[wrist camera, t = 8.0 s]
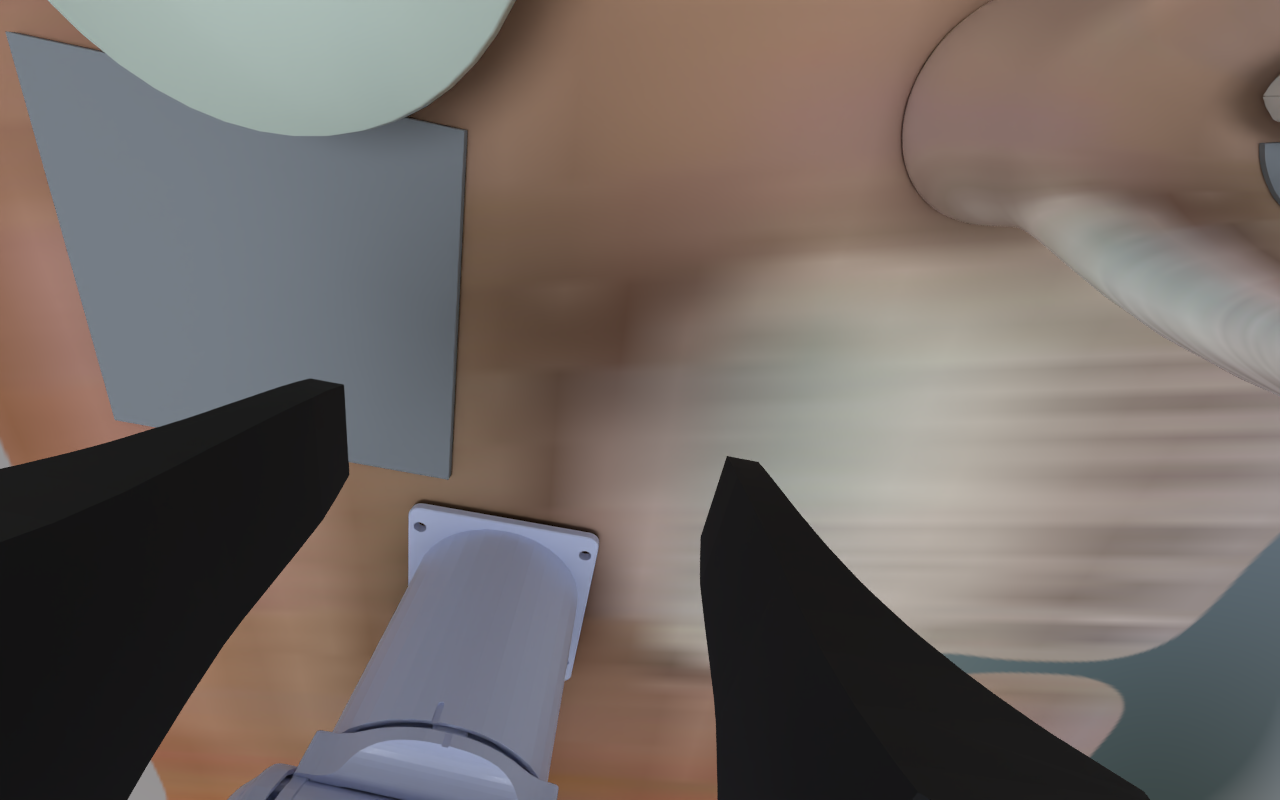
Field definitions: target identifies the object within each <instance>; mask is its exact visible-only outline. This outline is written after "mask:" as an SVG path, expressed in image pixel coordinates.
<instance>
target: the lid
mask: <svg viewBox="0 0 1280 800" xmlns="http://www.w3.org/2000/svg"><path fill="white" fill-rule="evenodd" d="M48 1H49V2H50V3H51V4H52V5H53V6H54V7H55V8H56V9H57V10H58V11H59V12H60V13H61V14H62V15H63V16H64V17H65V18H66V19H67V20H68V21H69V22H70V23H71V24H72V25H73V26H75V27H76V28H77V29H78V30H79V31H80V32H81V33H82V34H83V35H84V36H85V37H86V38H88V39H89V40H90V41H91V42H92V43H94V44H95V45H96V46H97V47H99V48H100V49H101V50H102V51H103V52H105V53H106V54H107V55H108V56H109V57H111V58H112V59H113V60H114V61H116V62H117V63H118V64H119V65H121V66H122V67H124V68H125V69H127V70H128V71H130V72H131V73H133V74H134V75H136V76H137V77H139V78H140V79H142V80H143V81H145V82H146V83H147V84H149V85H150V86H152V87H153V88H155V89H157V90H159V91H161V92H162V93H164V94H166V95H168V96H170V97H172V98H173V99H175V100H177V101H179V102H181V103H183V104H185V105H186V106H188V107H190V108H193V109H195V110H198V111H200V112H202V113H205V114H207V115H210V116H212V117H215V118H217V119H220V120H222V121H224V122H228V123H231V124H235V125H239V126H242V127H246V128H249V129H253V130H257V131H261V132H268V133H275V134H282V135H289V136H331V135H340V134H346V133H353V132H359V131H366V130H371V129H374V128H377V127H380V126H383V125H387V124H390V123H393V122H396V121H399V120H401V119H403V118H405V117H407V116H409V115H411V114H413V113H415V112H417V111H419V110H421V109H422V108H424V107H426V106H428V105H429V104H431V103H432V102H433V101H435V100H436V99H437V98H439V97H440V96H442V95H443V94H444V93H446V92H447V91H448V90H450V89H451V88H452V87H454V85H455V84H456V83H457V82H458V81H459V80H460V79H461V78H462V77H463V76H464V75H465V74H466V73H467V72H468V71H469V70H470V69H471V68H472V67H473V66H474V65H475V64H476V63H477V62H478V60H479V59H480V58H481V56H482V55H483V54H484V52H485V51H486V50H487V48H488V47H489V45H490V44H491V43H492V41H493V40H494V39H495V37H496V36H497V34H498V33H499V31H500V29H501V27H502V25H503V23H504V22H505V20H506V18H507V16H508V14H509V12H510V10H511V9H512V7H513V5H514V3H515V1H516V0H48Z"/></svg>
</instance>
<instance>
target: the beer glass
mask: <svg viewBox="0 0 1280 800" xmlns="http://www.w3.org/2000/svg"><path fill="white" fill-rule="evenodd" d="M902 149H903V157H904V162H905V166H906V169H907V172H908V175H909V177H910V179H911V181H912V183H913V185H914V187H915V189H916V190H917V192H918V193H919V194H920V196H921V197H922V198H923V199H924V200H925V201H926V202H927V203H928V204H929V205H930V206H931V207H932V208H933V209H935V210H936V211H938V212H939V213H941V214H943V215H944V216H946V217H949V218H951V219H954V220H957V221H960V222H963V223H967V224H973V225H981V226H998V227H1016V228H1019V229H1021V230H1023V231H1025V232H1027V233H1028V234H1030V235H1031V236H1032V237H1034V238H1035V239H1036V240H1038V241H1039V242H1040V243H1041V244H1043V245H1044V246H1045V247H1046V248H1047V249H1048V250H1049V251H1051V252H1052V253H1053V254H1054V255H1055V256H1056V257H1058V258H1059V259H1060V260H1061V261H1062V262H1063V263H1065V264H1066V265H1067V266H1068V267H1069V268H1071V269H1072V270H1073V271H1074V272H1075V273H1077V274H1078V275H1079V276H1080V277H1081V278H1083V279H1084V280H1085V281H1086V282H1088V283H1089V284H1090V285H1091V286H1092V287H1094V288H1095V289H1096V290H1097V291H1098V292H1100V293H1101V294H1102V295H1103V296H1105V297H1106V298H1107V299H1109V300H1110V301H1112V302H1113V303H1114V304H1116V305H1117V306H1119V307H1120V308H1122V309H1123V310H1124V311H1126V312H1127V313H1129V314H1130V315H1132V316H1133V317H1134V318H1136V319H1137V320H1139V321H1140V322H1142V323H1143V324H1144V325H1146V326H1147V327H1149V328H1150V329H1152V330H1153V331H1154V332H1156V333H1157V334H1159V335H1160V336H1162V337H1164V338H1165V339H1167V340H1169V341H1171V342H1173V343H1175V344H1176V345H1178V346H1180V347H1182V348H1184V349H1186V350H1188V351H1190V352H1191V353H1193V354H1195V355H1197V356H1199V357H1201V358H1203V359H1204V360H1206V361H1208V362H1210V363H1212V364H1214V365H1216V366H1217V367H1219V368H1221V369H1223V370H1225V371H1227V372H1229V373H1230V374H1232V375H1234V376H1236V377H1238V378H1240V379H1242V380H1244V381H1246V382H1249V383H1251V384H1253V385H1255V386H1257V387H1260V388H1262V389H1264V390H1266V391H1269V392H1271V393H1273V394H1275V395H1277V396H1280V0H992V1H990V2H988V3H987V4H985V5H983V6H982V7H980V8H979V9H977V10H976V11H974V12H973V13H972V14H970V15H969V16H968V17H966V18H965V19H964V20H963V21H961V22H960V23H959V24H958V25H957V26H956V27H955V28H954V29H953V30H952V31H951V32H950V33H949V34H948V35H947V36H946V37H945V38H944V39H943V40H942V41H941V42H940V44H939V45H938V46H937V47H936V49H935V50H934V51H933V53H932V54H931V55H930V57H929V58H928V60H927V61H926V63H925V64H924V66H923V68H922V70H921V71H920V73H919V75H918V77H917V79H916V81H915V83H914V86H913V88H912V91H911V93H910V96H909V99H908V102H907V106H906V110H905V115H904V120H903V128H902Z"/></svg>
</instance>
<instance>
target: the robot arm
mask: <svg viewBox="0 0 1280 800" xmlns="http://www.w3.org/2000/svg"><path fill="white" fill-rule="evenodd" d="M348 476H349V461H348V444H347V426H346V409H345V391H344V385H343V384H338V383H333V382H327V381H322V380H317V379H311V378H310V379H306V380H301V381H297V382H294V383H290V384H287V385H284V386H281V387H278V388H275V389H271V390H268V391H265V392H262V393H260V394H257V395H254V396H251V397H248V398H245V399H242V400H239V401H236V402H233V403H230V404H227V405H224V406H222V407H219V408H216V409H213V410H210V411H207V412H204V413H201V414H198V415H195V416H192V417H189V418H186V419H183V420H180V421H176V422H173V423H170V424H167V425H163V426H160V427H157V428H154V429H151V430H147V431H144V432H141V433H138V434H134V435H131V436H128V437H125V438H121V439H118V440H115V441H111V442H108V443H104V444H101V445H97V446H93V447H89V448H86V449H82V450H78V451H74V452H70V453H66V454H62V455H58V456H54V457H50V458H46V459H41V460H37V461H33V462H29V463H25V464H21V465H16V466H11V467H7V468H3V469H0V800H127V799H128V798H129V796H130V794H131V792H132V790H133V789H134V787H135V786H136V784H137V782H138V780H139V779H140V777H141V775H142V773H143V772H144V770H145V768H146V767H147V765H148V763H149V762H150V760H151V758H152V757H153V755H154V754H155V752H156V750H157V749H158V747H159V745H160V744H161V742H162V741H163V739H164V737H165V736H166V734H167V733H168V731H169V729H170V728H171V726H172V724H173V723H174V721H175V720H176V718H177V716H178V715H179V713H180V712H181V710H182V708H183V707H184V705H185V703H186V702H187V700H188V699H189V697H190V696H191V694H192V693H193V691H194V690H195V688H196V687H197V685H198V683H199V682H200V680H201V679H202V677H203V676H204V674H205V673H206V671H207V670H208V668H209V667H210V665H211V664H212V662H213V661H214V659H215V658H216V656H217V654H218V653H219V651H220V650H221V648H222V647H223V645H224V644H225V643H226V641H227V640H228V639H229V637H230V636H231V635H232V633H233V632H234V631H235V629H236V628H237V627H238V625H239V624H240V623H241V621H242V620H243V619H244V617H245V616H246V615H247V614H248V612H249V611H250V610H251V609H252V608H253V606H254V605H255V604H256V603H257V601H258V600H259V599H260V598H261V596H262V595H263V594H264V593H265V591H266V590H267V589H268V588H269V587H270V585H271V584H272V583H273V582H274V580H275V579H276V578H277V577H278V575H279V574H280V573H281V572H282V570H283V569H284V568H285V567H286V565H287V564H288V563H289V562H290V561H291V559H292V558H293V557H294V556H295V554H296V553H297V552H298V551H299V549H300V548H301V547H302V546H303V544H304V543H305V542H306V540H307V539H308V538H309V537H310V535H311V534H312V533H313V532H314V530H315V529H316V528H317V527H318V525H319V524H320V523H321V521H322V520H323V519H324V517H325V515H326V514H327V512H328V510H329V509H330V507H331V506H332V504H333V502H334V501H335V499H336V497H337V496H338V494H339V492H340V490H341V488H342V487H343V485H344V483H345V481H346V480H347V478H348ZM418 522H421V523H423V524H424V525H425V526H423V525H420V524H419V523H418ZM598 548H599V539H598V537H597V536H596V535H594V534H592V533H589V532H583V531H578V530H572V529H566V528H561V527H555V526H549V525H543V524H538V523H532V522H526V521H521V520H515V519H509V518H504V517H498V516H492V515H487V514H481V513H475V512H470V511H464V510H458V509H453V508H447V507H441V506H436V505H430V504H424V503H418V504H415V505H414V506H413V507H412V509H411V510H410V512H409V527H408V588H407V590H406V591H405V593H404V595H403V597H402V599H401V601H400V603H399V605H398V607H397V609H396V611H395V613H394V615H393V616H392V618H391V620H390V622H389V624H388V626H387V628H386V630H385V632H384V634H383V636H382V638H381V640H380V641H379V643H378V645H377V647H376V649H375V651H374V653H373V655H372V657H371V659H370V661H369V663H368V665H367V666H366V668H365V670H364V672H363V674H362V676H361V678H360V680H359V682H358V684H357V686H356V688H355V690H354V691H353V693H352V695H351V697H350V699H349V701H348V703H347V705H346V707H345V709H344V711H343V713H342V715H341V716H340V718H339V720H338V722H337V724H336V726H335V728H334V730H333V732H328V731H323V730H320V731H317V732H316V734H315V736H314V738H313V739H312V741H311V743H310V745H309V747H308V749H307V750H306V752H305V754H304V756H303V758H302V760H301V761H300V763H299V765H298V767H296V766H292V765H287V764H280V763H279V764H274V765H272V766H270V767H269V768H267V769H265V770H264V771H263V772H262V773H261V774H260V775H259V776H257V777H256V778H254V779H252V780H251V781H249V782H247V783H246V784H244V785H243V786H241V787H240V788H239V789H237V790H236V791H235V792H234V793H233V794H232V795H231V796H230V797H229V798H228V799H227V800H557V795H558V786H557V785H556V784H553V783H549V782H548V776H549V770H550V764H551V758H552V752H553V746H554V740H555V734H556V728H557V722H558V716H559V710H560V704H561V699H562V693H563V687H564V681H565V680H568V679H569V678H570V677H571V673H572V669H573V664H574V659H575V655H576V650H577V646H578V641H579V636H580V632H581V627H582V622H583V618H584V613H585V608H586V604H587V599H588V595H589V590H590V585H591V581H592V576H593V571H594V567H595V562H596V557H597V553H598ZM582 551H587V552H589V554H584V553H582ZM700 587H701V596H702V604H703V613H704V621H705V630H706V638H707V646H708V654H709V662H710V670H711V678H712V686H713V694H714V705H715V717H716V742H717V782H718V800H1150V799H1149V798H1148V796H1147V795H1146V794H1145V792H1143V791H1142V790H1140V789H1139V788H1137V787H1136V786H1134V785H1132V784H1131V783H1129V782H1128V781H1126V780H1124V779H1123V778H1121V777H1120V776H1118V775H1116V774H1115V773H1113V772H1112V771H1110V770H1108V769H1107V768H1105V767H1104V766H1102V765H1100V764H1099V763H1097V762H1096V761H1094V760H1093V759H1091V758H1089V757H1088V756H1086V755H1085V754H1083V753H1081V752H1080V751H1078V750H1077V749H1075V748H1073V747H1072V746H1070V745H1069V744H1067V743H1065V742H1064V741H1062V740H1061V739H1059V738H1057V737H1056V736H1054V735H1053V734H1051V733H1050V732H1048V731H1047V730H1045V729H1044V728H1042V727H1041V726H1039V725H1038V724H1036V723H1035V722H1033V721H1032V720H1031V719H1029V718H1028V717H1026V716H1025V715H1023V714H1022V713H1021V712H1019V711H1018V710H1016V709H1015V708H1013V707H1012V706H1011V705H1009V704H1008V703H1006V702H1005V701H1003V700H1002V699H1001V698H999V697H998V696H996V695H995V694H993V693H992V692H991V691H989V690H988V689H987V688H985V687H984V686H983V685H981V684H980V683H979V682H977V681H976V680H975V679H973V678H972V677H971V676H969V675H968V674H966V673H965V672H964V671H962V670H961V669H960V668H959V667H957V666H956V665H955V664H954V663H953V662H951V661H950V660H949V659H948V658H946V657H945V656H944V655H943V654H941V653H940V652H939V651H938V650H936V649H935V648H934V647H933V646H931V645H930V644H929V643H928V642H926V641H925V640H924V639H923V638H922V637H920V636H919V635H918V634H917V633H916V632H914V631H913V630H912V629H911V628H910V627H909V626H907V625H906V624H905V623H904V622H903V621H902V620H901V619H900V618H899V617H897V616H896V615H895V614H894V613H893V612H892V611H891V610H890V609H889V608H888V607H887V606H886V605H884V604H883V603H882V602H881V601H880V600H879V599H878V598H877V597H876V596H875V595H874V594H873V593H872V592H871V591H870V590H868V589H867V588H866V587H865V586H864V585H863V584H862V583H861V582H860V581H859V580H858V579H857V578H856V577H855V575H854V574H853V573H852V572H851V571H850V570H849V569H848V568H847V567H846V566H845V565H844V564H843V563H842V562H841V560H840V559H839V558H838V557H837V556H836V555H835V554H834V553H833V552H832V551H831V550H830V549H829V547H828V546H827V545H826V544H825V543H824V542H823V541H822V539H821V538H820V537H819V536H818V535H817V534H816V532H815V531H814V530H813V529H812V528H811V527H810V525H809V524H808V523H807V522H806V521H805V519H804V518H803V517H802V516H801V514H800V513H799V512H798V511H797V510H796V508H795V507H794V506H793V505H792V503H791V502H790V501H789V499H788V498H787V497H786V496H785V494H784V493H783V492H782V491H781V489H780V488H779V487H778V486H777V484H776V483H775V482H774V481H773V479H772V478H771V477H770V475H769V474H768V473H767V472H766V471H765V469H764V468H763V467H762V466H761V465H760V464H759V462H755V461H750V460H744V459H739V458H734V457H728V456H727V458H726V461H725V464H724V467H723V470H722V473H721V476H720V480H719V483H718V486H717V489H716V492H715V495H714V498H713V501H712V504H711V507H710V510H709V513H708V516H707V519H706V522H705V526H704V529H703V532H702V535H701V548H700Z"/></svg>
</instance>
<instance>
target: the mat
mask: <svg viewBox="0 0 1280 800" xmlns="http://www.w3.org/2000/svg"><path fill="white" fill-rule="evenodd" d="M6 35H7V39H8V42H9V46H10V49H11V53H12V56H13V60H14V64H15V67H16V71H17V74H18V78H19V81H20V85H21V88H22V92H23V96H24V99H25V103H26V106H27V110H28V113H29V117H30V120H31V124H32V127H33V131H34V135H35V138H36V142H37V145H38V149H39V152H40V156H41V159H42V163H43V167H44V170H45V174H46V177H47V181H48V184H49V188H50V191H51V195H52V198H53V202H54V206H55V209H56V213H57V216H58V220H59V223H60V227H61V230H62V234H63V238H64V241H65V245H66V248H67V252H68V255H69V259H70V262H71V266H72V269H73V273H74V277H75V280H76V284H77V287H78V291H79V294H80V298H81V301H82V305H83V309H84V312H85V316H86V319H87V323H88V326H89V330H90V333H91V337H92V340H93V344H94V348H95V351H96V355H97V358H98V362H99V365H100V369H101V372H102V376H103V379H104V383H105V387H106V390H107V394H108V397H109V401H110V404H111V408H112V411H113V415H114V419H115V420H118V421H123V422H129V423H135V424H140V425H146V426H151V427H160V426H163V425H167V424H170V423H173V422H176V421H180V420H183V419H186V418H189V417H192V416H195V415H198V414H201V413H204V412H207V411H210V410H213V409H216V408H219V407H222V406H224V405H227V404H230V403H233V402H236V401H239V400H242V399H245V398H248V397H251V396H254V395H257V394H260V393H262V392H265V391H268V390H271V389H275V388H278V387H281V386H284V385H287V384H290V383H294V382H297V381H301V380H306V379H310V378H311V379H317V380H322V381H327V382H333V383H338V384H343V385H344V391H345V409H346V426H347V444H348V461H349V462H353V463H358V464H364V465H369V466H375V467H380V468H386V469H392V470H397V471H403V472H408V473H414V474H420V475H425V476H431V477H436V478H442V479H447V480H449V478H450V476H451V464H452V443H453V422H454V401H455V380H456V359H457V338H458V317H459V296H460V276H461V255H462V234H463V213H464V192H465V171H466V150H467V130H464V129H459V128H454V127H450V126H445V125H441V124H436V123H431V122H427V121H422V120H417V119H413V118H408V117H405V118H403V119H401V120H399V121H396V122H393V123H390V124H387V125H383V126H380V127H377V128H374V129H371V130H366V131H359V132H353V133H346V134H340V135H331V136H289V135H282V134H275V133H268V132H261V131H257V130H253V129H249V128H246V127H242V126H239V125H235V124H231V123H228V122H224V121H222V120H220V119H217V118H215V117H212V116H210V115H207V114H205V113H202V112H200V111H198V110H195V109H193V108H190V107H188V106H186V105H185V104H183V103H181V102H179V101H177V100H175V99H173V98H172V97H170V96H168V95H166V94H164V93H162V92H161V91H159V90H157V89H155V88H153V87H152V86H150V85H149V84H147V83H146V82H145V81H143V80H142V79H140V78H139V77H137V76H136V75H134V74H133V73H131V72H130V71H128V70H127V69H125V68H124V67H122V66H121V65H119V64H118V63H117V62H116V61H114V60H113V59H112V58H111V57H109V56H108V55H107V54H106V53H105V52H103V51H99V50H94V49H90V48H85V47H80V46H76V45H71V44H66V43H62V42H57V41H53V40H48V39H43V38H39V37H34V36H30V35H25V34H20V33H15V32H6Z"/></svg>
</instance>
